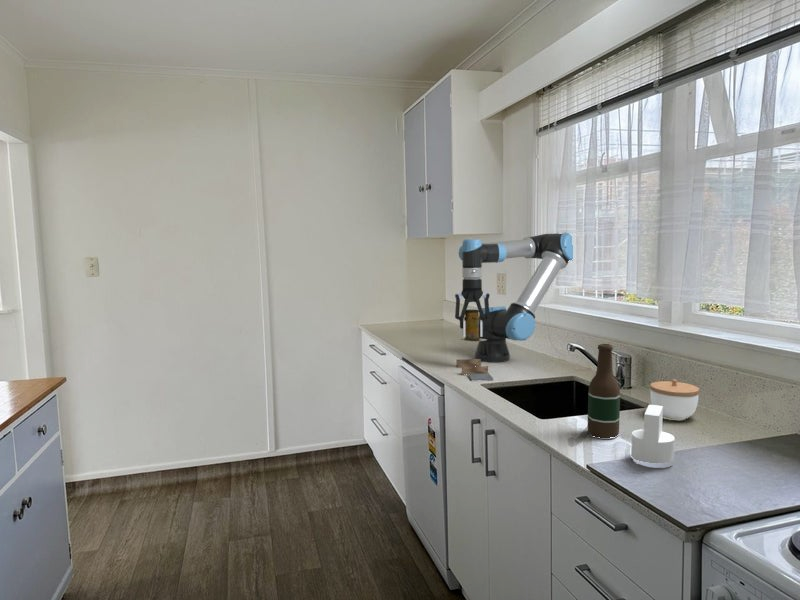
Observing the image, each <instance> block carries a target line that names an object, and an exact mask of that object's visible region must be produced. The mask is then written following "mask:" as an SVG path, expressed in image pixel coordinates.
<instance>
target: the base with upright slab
mask: <svg viewBox="0 0 800 600" xmlns="http://www.w3.org/2000/svg"><path fill="white" fill-rule="evenodd" d="M643 414H644V417H643V418H644V419H643V421H644V422H643V423H644V424H643V429H635V430H633V431H632V432H631V449H630V451H631V452H630V453H631V456H632V457H633V458H634V459H636V460H639V461H643V462H649V463H665V462H670V461H673V459H674V460H675V446H676V445H675V444H676V443H675V441H676V439H675V436H674V435H672V434H671V433H668V432H665V431H663V420H664V419H663V406H658V405H652V404H648V406H647V408H646V410H645V412H644V413H643ZM631 456H630V457H631Z"/></svg>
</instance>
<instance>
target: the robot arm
mask: <svg viewBox="0 0 800 600" xmlns="http://www.w3.org/2000/svg"><path fill="white" fill-rule="evenodd" d="M569 233H570V232H569ZM569 233H568V232H562V234H559V233H542V234H539V235H534V236H528V237H527V236H525V237H524V238H522V239H518V240H507V241H506V240H505V241H495V242H482V239H480V238H478V239H477V238H476V239H475V238H473V239H464V240H463V241H462V245H461V246H460V247H459V249H458V256H459V259H460V260H461V262H462V263H461V264H462V265H461V266H462V270H461V271H462V273H461V274H462V289H461V292H460V293H455V294H454V298H455V311H454V312H455V314H454V318H455V319H456V320H458V321H459V328H460V329H462V335H461V336H462V338H465V320H464V317H465V313H466V310H468V308H469V307H468V306H469V304H470V303H475V304H476V306H477V307H476V308H477V310H478V311H479V312H478V314H479V315H478V316H479V321H480V324H479V325H480V338H479V339H486V340H484V341H478V344H477V346H476V349H475V354H474V359H481V362H486V363H499V362H501V363H502V362H507V361H510V359H511V357H510V355H511V354H510V350H509V348H508V344H507V340H511V341H517V342H518V341H522V342H523V341H527V340H528V339H529V338H531V336H532V335H533V334H534V332H535V329H536V315H535V312H536V310H537V309H538V307H539V305H540V303H541V302H542V301H543V298H544V297H545V295H546V294H547V292H548V291H549V288H551V286H552V284H553V282H554V281H555V279H556V277H557V276H558V274H559V272H560V270H562V269H566V268H567V266H568V265H569V262H570V261H571V260H572V259H573V245H572V236H571V235H570V234H569ZM513 258H515V259H516V258H525V259H539V260H541V261H540V263H539V265H538V266H537V268H536V270H535V271H534V273H533V275H532V276H531V278H530V279H529V281H528V282H527V284H526V286H525V287H524V288H523V291H522V292H521V294H520V296H519V297H518V298H517V300H516V301H515V302H511V303H510V304H509V306H508V308H507V307H506V306H504V305H503V306H492V307H491V306H490V305H489V298H490V293H488V292H487V293H486V292H484V291H483V289H482V288H483V285H482V283H483V282H482V278H483V277H482V273H483V271H482V268H483V267H482V265H483V264H486V263H488V264H490V263H496V264H498V263H501V262H502V263H503V262H504V261H505V260H506V259H513ZM569 260H570V261H569ZM568 261H569V262H568ZM572 261H573V260H572ZM481 297H482V298H483V299H484V303H483V304H484V307H482V305H481V300H480V299H481ZM462 298H463V299H464V301H463V306H462V308H461V306H460V305H461V299H462ZM460 308H461V312H460Z"/></svg>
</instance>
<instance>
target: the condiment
mask: <svg viewBox="0 0 800 600" xmlns="http://www.w3.org/2000/svg"><path fill="white" fill-rule="evenodd" d="M464 320H465V337H464V338H460V339H459V340H462V341H466V342H467V341H468V342H474V343H475V342H476V343H477V342H478V343H479V341H484V340H486V339H479V338H480V325H479V324H480V321H479V311H478V309H467V310H466V313H465V316H464Z"/></svg>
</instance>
